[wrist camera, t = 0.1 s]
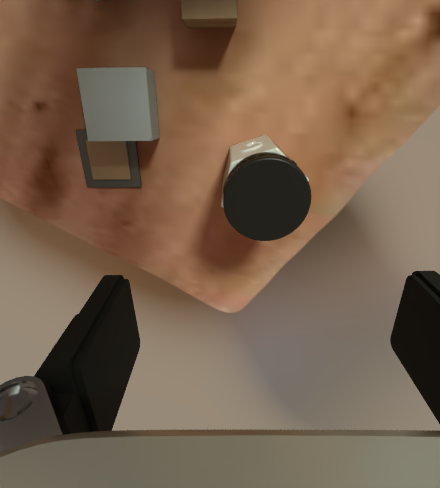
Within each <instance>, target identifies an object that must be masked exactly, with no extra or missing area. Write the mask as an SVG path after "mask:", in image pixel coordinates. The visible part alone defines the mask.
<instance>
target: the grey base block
mask: <svg viewBox="0 0 440 488" xmlns="http://www.w3.org/2000/svg"><path fill="white" fill-rule="evenodd" d="M76 70H77V76H78V82H79V88H80V94H81V101H82V107H83V113H84V119H85V125H86V131H87V137H88V141H153V140H155V139H158V138H160V136H159V124H158V111H157V99H156V86H155V74H154V71H152V70H150V69H148V68H146V67H119V68H76Z"/></svg>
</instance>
